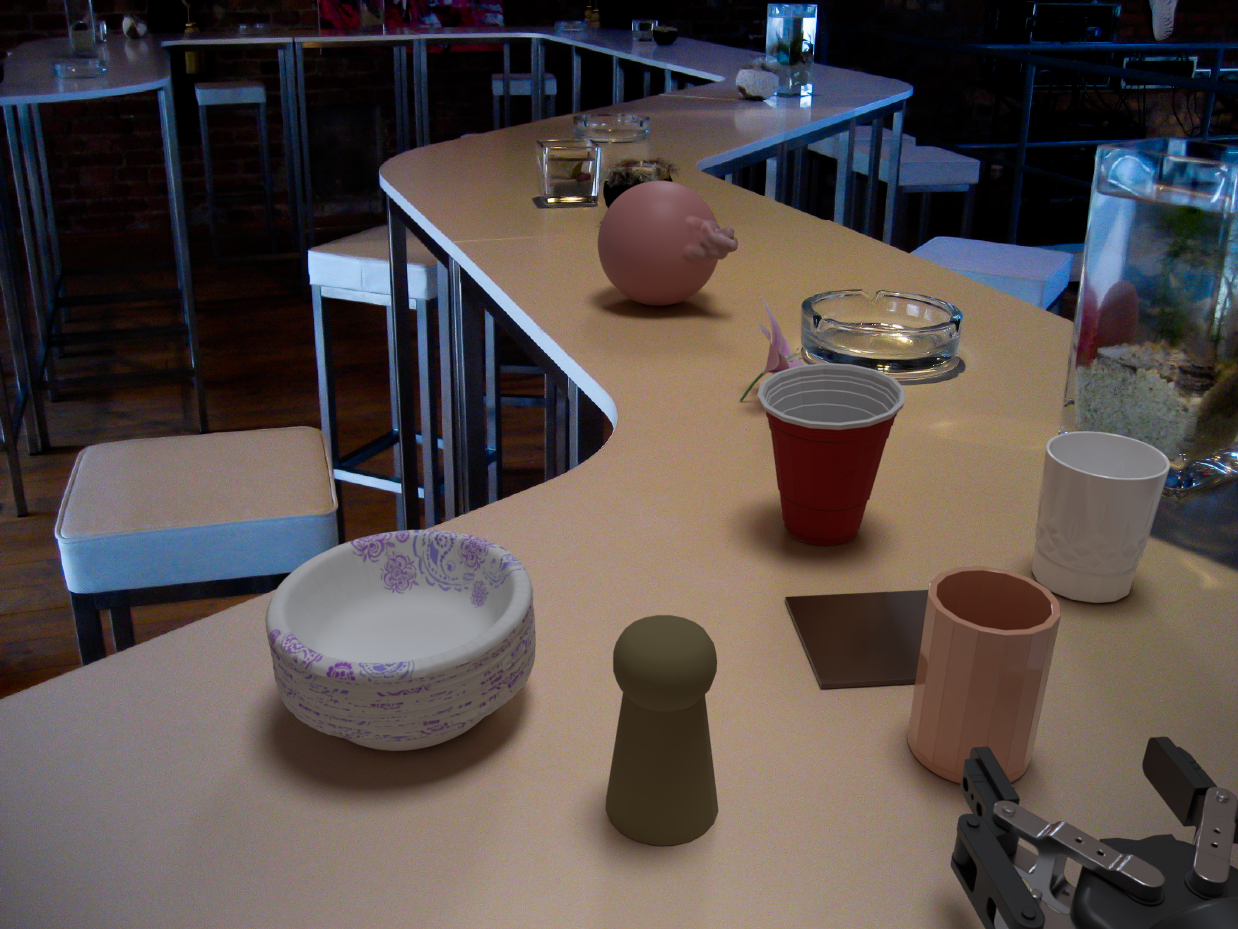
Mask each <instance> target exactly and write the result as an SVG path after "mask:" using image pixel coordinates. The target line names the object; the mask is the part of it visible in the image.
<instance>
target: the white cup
mask: <svg viewBox="0 0 1238 929" xmlns="http://www.w3.org/2000/svg"><path fill="white" fill-rule="evenodd" d="M1044 451H1045V452H1044V458H1043V465H1042V466H1043V467H1042V471H1041V480H1040V487H1039V496H1038V500H1037V502H1038V503H1037V514H1036V521H1035V528H1034V529H1035V530H1034V531H1035V542H1034V547H1033V548H1034V549H1033V556H1032V561H1031V562H1032V563H1031V572H1032V574H1033V575H1034V578H1035V581H1036V582H1037V583H1039V584H1041V585H1042V586H1044V587H1045V588H1047V589H1048V590H1049V591H1050V592H1051V593H1052V594H1053V593H1054V594H1056V595H1058V596H1062V597H1064V598H1067V599H1068V600H1069V599H1070V600H1074V601H1078V602H1085V603H1093V604H1101V603H1113V602H1117V601H1120V599H1123V598H1125V597H1127V596H1128V595H1129V594H1130V591H1131V588H1132V585H1133V582H1134V579H1135V575H1136V571H1137V569H1138V566H1139V565H1140V564H1139V563H1140V561H1142V559H1143V557H1144V552H1145V549H1146V546H1147V544H1148V541H1149V539H1150V535H1151V532H1152V529H1153V525H1154V521H1155V518H1156V515H1157V511H1158V509H1159V506H1160V502H1161V498H1162V495H1163V492H1164V488H1165V485H1166V483H1167V479H1168V475H1169V472H1170V469H1171V461H1170V459H1169V458H1168V456H1167V455H1166V454H1164V452H1162V451H1161V450H1160V449H1158V448H1157V447H1155V446H1153V445H1151V444H1149V443H1147V442H1144V441H1142V440H1139V439H1136V438H1132V437H1129V436H1125V435H1121V434H1116V433H1112V432H1103V431H1093V430H1092V431H1091V430H1086V431H1085V430H1082V431H1071V432H1070V431H1069V432H1064V433H1060V434H1057V435H1054V436H1053V437H1051V438H1050V439H1049V440H1047V442H1046V444H1045V450H1044Z"/></svg>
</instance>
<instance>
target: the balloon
mask: <svg viewBox="0 0 1238 929" xmlns="http://www.w3.org/2000/svg"><path fill="white" fill-rule="evenodd" d="M738 247H739V241H738V238H737V237H735V229H734V228H733V227H732V226H725V227H722V228H721V226H720V225H719V224H718V220H717V218H716V216H715V214H714V212H713V210H712V209H711V207H710V205H709V204H708V203H707V201H705V199H704V198H702V197H701V196H700V195H699V194H698V193H697V192H696V191H694V190H692V189H691V188H689V187H687V186H686V185H683V184H680V183H677V182H674V181H668V180H651V181H645V182H642V183H639V184H636V185H634V186H632V187H630V188H628V189H626V190H625V191H624V192H622V193H621V194H620V195H619V196H618V197H616V199H614V200H613V202H612V203H611V204H610V205H609V207H608V208H607V210H606V212H605V213H604V215H603V218H602V220H601V222H600V226H599V229H598V234H597V252H598V253H597V254H598V257H599V262H600V265H601V267H602V270H603V272H604V274H605V276H606V277H607V279H608V280H609V282H610V283H611V284H612V285H613V287H614V288H615V289H616V290H617V291H618V292H620V294H622V295H623V296H625V297H627V298H628V299H630V300H631V301H634V302H636V303H639V304H642V305H647V306H651V307H664V306H670V305H671V306H672V305H675V304H679V303H681V302H684V301H686V300H688V299H689V298H691V297H692V296H694V295H696V294H697V293H698V292H699V291H701V289H703V287H704V286H706V284H707V283H708V282H709V280H710V279H711V277H712V275H713V274H714V272H715V270H716V266H717V265H718V263H719V260H724V259H726V258H727V257H728V255H729V253H732V252H733V253H734V252H736V251H737V250H738Z"/></svg>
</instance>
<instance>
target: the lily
mask: <svg viewBox="0 0 1238 929" xmlns="http://www.w3.org/2000/svg"><path fill="white" fill-rule="evenodd" d="M759 298H760V300H761V302H762V304H763V306H764V309H765V311H766V312H767V316H768V318H769V322H770V327H771V333H770V331H769V329H767V327H765V326H764V325H762V324H759V323H758V324H757V327H758V328H759V330H760V331H761V332H762V333H763V335H764V336H765V337H766V339H767V340H768V342H769V348H768V355H767V359H766V365H765V368H764V370H763V371H762V372H761V373H760V374H759V375H757V377H756V378H754V380H753V381H752V382H750V384H749V386H748V387H747V388H746V390H745V392H744V393H743V394H742V396H741V397H740V399H739V401H740V402H743V401H744V400H745V398H746V397H747V395H748V394H749V393H750V391H751V390H752V388H753V387H754V386H755V384H756V383H758V382H759V380H760V379H761V378H762V377H764V376H765V375H766V374H771V375H773V374H775V373H777V372H780V371H783V370H786V369H790V368H793V367H796V366H803V365H805V363H804V362H803V361H802V359H803V357H798V356H806V353H804V351H801V352H799V353H797V352H798V350H799V349H800V347H797V348H796V351H794V352H793V351H792V348H791V346H790V344H789V342H788V340H787V339H786V338H785V335H783V334H782V330H781V327H780V324H779V323H778V320H777V318H776V316H775V315H774V313H773V312H772V310H771V308H770V307H769V305H768V304H767V303H766V301H765V300H764V299H763V297H762V296H759ZM771 337H772V340H771ZM771 341H772V342H771Z"/></svg>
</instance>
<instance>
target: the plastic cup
mask: <svg viewBox="0 0 1238 929" xmlns="http://www.w3.org/2000/svg"><path fill="white" fill-rule="evenodd" d="M906 390H907V389H905V388H904V387H903V385H902V384H901V383H900V382H899V381H898V380H897V379H896V378H895V377H892V376H890V375H889V374H886V373H884V372H882V371H879V370H877V369H874V368H869V367H865V366H860V365H855V364H848V363H827V362H826V363H825V362H822V363H814V364H813V363H812V364H804V365H803V366H796V367H793V368H790V369H786V370H783V371H780V372H777V373H775V374H771V375H770V376H769V377H767V378H766V379H765V380H763V381H762V382H761V383H760V385H759V388H758V390H757V391H758V392H757V394H756V396H757V399H758V401H759V403H761V406H762V407H763V409H764V411H765V416H766V419H767V423H768V428H769V430H770V433H771V434H770V436H771V444H772V450H773V460H774V466H775V467H774V468H775V473H776V474H775V475H776V484H777V490H778V491H779V498H780V499H779V500H780V509H781V519H782V521H783V527H784V529H785V530H786V532H787V534H788V535H790V536H791V537H793V538H794V539H796V540H797V541H800V542H803V543H805V544H809V545H815V546H822V547H823V546H825V547H826V546H827V547H828V546H839V545H842V544H845V543H849V542H850V541H852V540H853V539H854V538H855V537H856V536H857V534H858V531H859V530H860V528H861V525H862V521H863V518H864V515H865V510H866V508H867V504H868V501H869V500H870V498H871V495H872V492H873V488H874V485H875V482H876V478H877V475H878V470H879V467H880V464H881V461H882V458H883V454H884V451H885V447H886V444H887V440H888V439H889V436H890V433H891V430H892V427H893V426H894V423H895V420H896V417H897V416H898V413H899V412H900V411H901V410H902V409H904V405H905V403H906Z"/></svg>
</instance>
